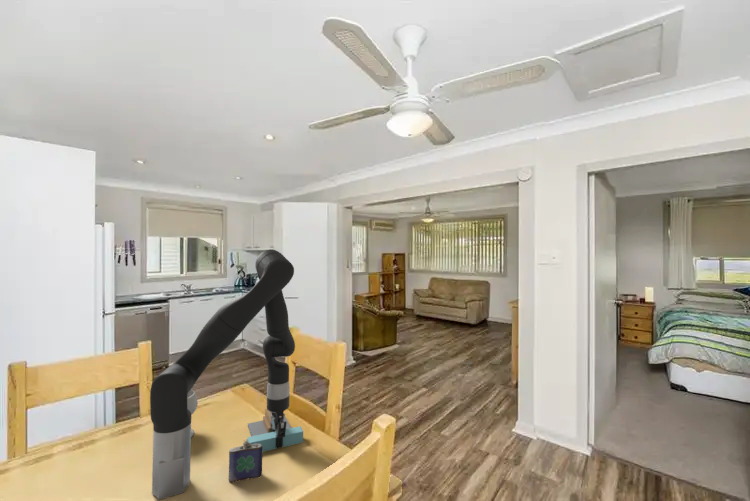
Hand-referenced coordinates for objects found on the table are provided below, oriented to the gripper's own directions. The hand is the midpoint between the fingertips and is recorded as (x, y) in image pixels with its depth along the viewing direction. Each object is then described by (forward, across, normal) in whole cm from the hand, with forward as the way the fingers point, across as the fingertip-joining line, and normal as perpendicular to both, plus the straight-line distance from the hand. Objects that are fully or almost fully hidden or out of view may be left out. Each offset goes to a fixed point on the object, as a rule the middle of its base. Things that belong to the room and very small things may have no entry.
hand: (277, 443), depth 120 cm
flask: (+1, -13, +12) cm, 18 cm away
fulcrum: (0, +11, 0) cm, 11 cm away
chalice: (+1, +21, +31) cm, 38 cm away
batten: (+1, 0, +1) cm, 1 cm away
